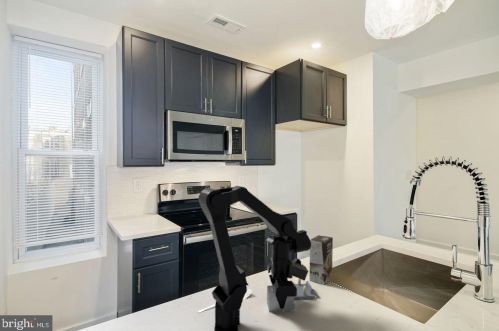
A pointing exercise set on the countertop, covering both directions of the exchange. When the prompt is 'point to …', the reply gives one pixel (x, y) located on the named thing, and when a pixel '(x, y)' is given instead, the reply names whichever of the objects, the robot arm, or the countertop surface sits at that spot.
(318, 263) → the coffee box
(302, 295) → the tray
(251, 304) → the countertop surface
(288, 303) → the block
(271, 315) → the countertop surface
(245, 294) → the fork
